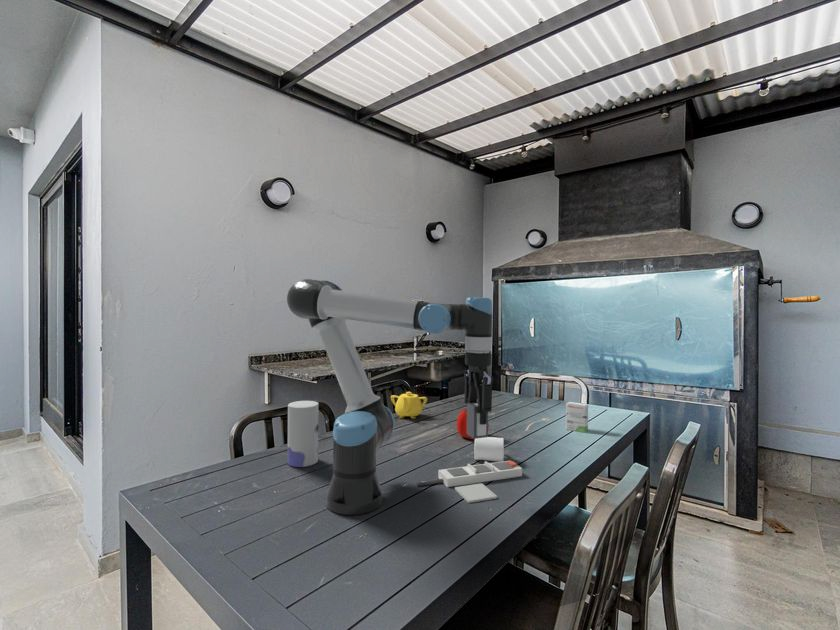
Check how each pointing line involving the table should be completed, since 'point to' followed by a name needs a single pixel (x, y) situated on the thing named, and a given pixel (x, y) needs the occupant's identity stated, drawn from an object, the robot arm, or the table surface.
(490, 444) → the mug
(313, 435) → the container
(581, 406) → the ink box
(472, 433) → the block
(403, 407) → the yellow handled pot
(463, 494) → the felt pad
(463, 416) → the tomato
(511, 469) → the power strip
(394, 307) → the robot arm
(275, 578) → the table surface
